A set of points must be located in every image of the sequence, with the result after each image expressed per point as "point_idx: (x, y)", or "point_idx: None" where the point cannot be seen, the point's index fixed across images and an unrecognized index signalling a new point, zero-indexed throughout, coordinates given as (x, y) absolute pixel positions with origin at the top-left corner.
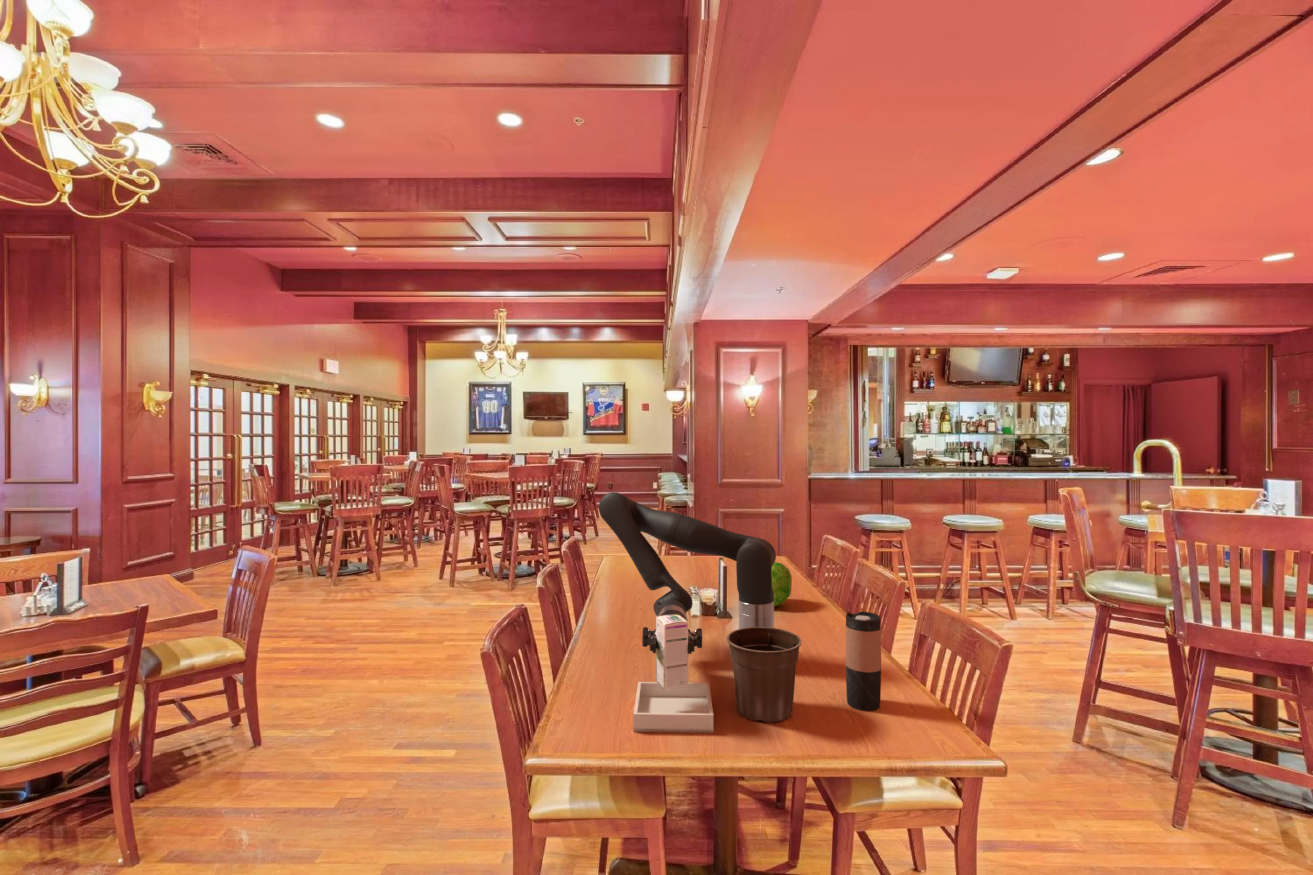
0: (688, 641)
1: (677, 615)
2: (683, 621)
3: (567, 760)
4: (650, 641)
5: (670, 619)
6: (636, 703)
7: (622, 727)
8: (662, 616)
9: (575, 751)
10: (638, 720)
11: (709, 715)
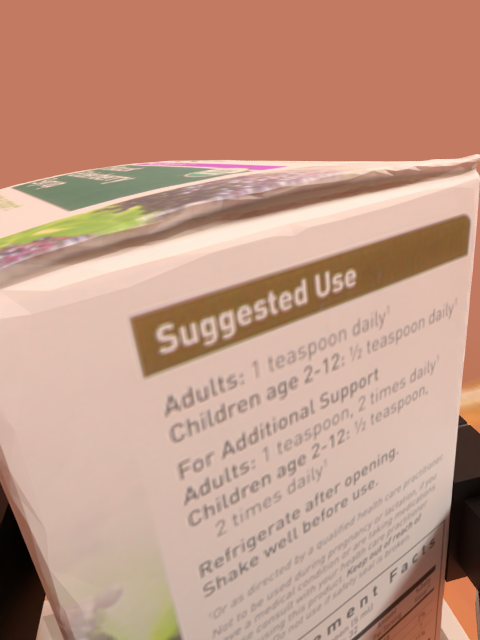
0: (5, 501)
1: (29, 234)
2: (8, 188)
3: (460, 400)
4: (474, 437)
5: (185, 166)
6: (448, 621)
7: (455, 589)
8: (369, 167)
9: (476, 428)
10: None
11: (48, 602)
